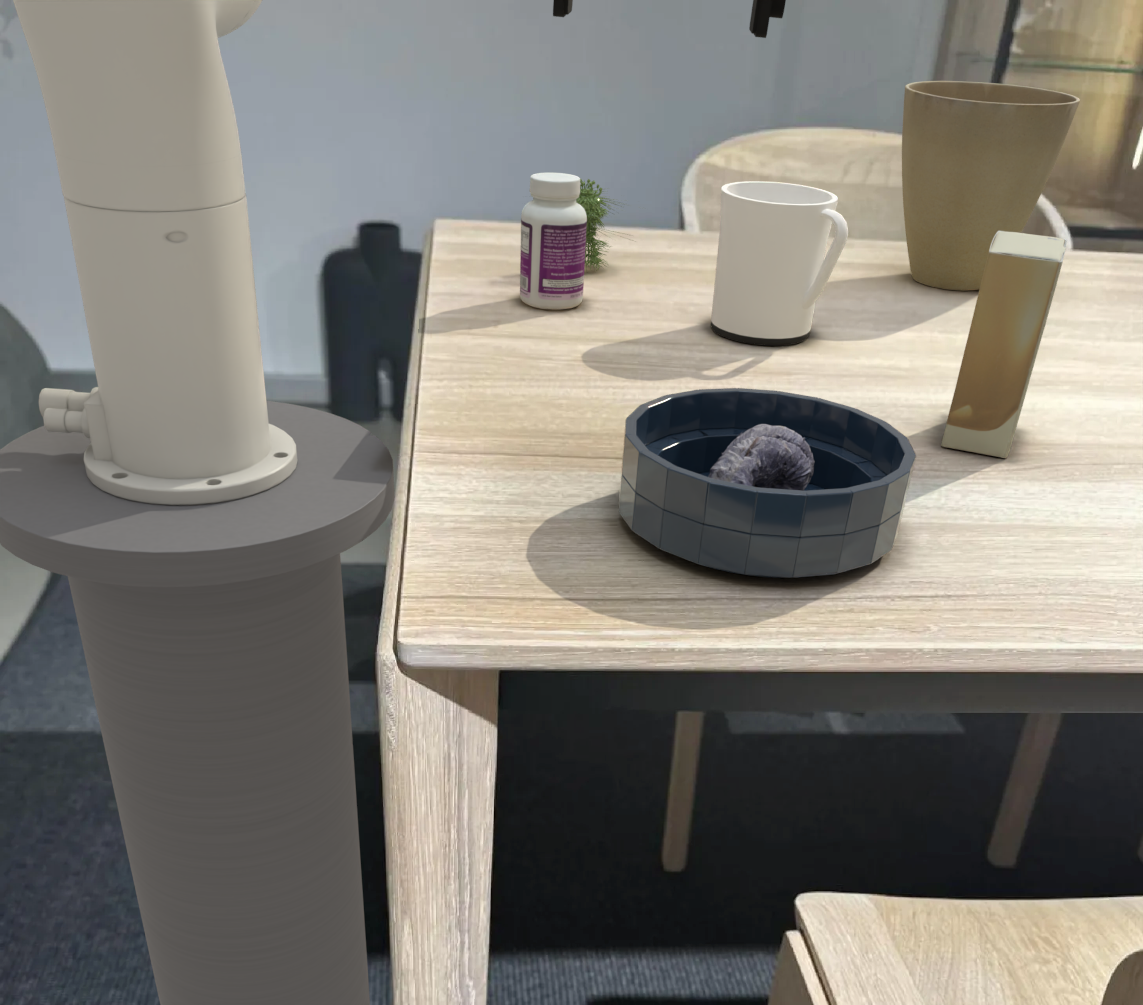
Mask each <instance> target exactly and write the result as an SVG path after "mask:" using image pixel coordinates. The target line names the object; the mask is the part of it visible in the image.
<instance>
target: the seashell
mask: <svg viewBox="0 0 1143 1005" xmlns="http://www.w3.org/2000/svg"><path fill="white" fill-rule="evenodd" d="M813 471H814V459H813V454H812V453H811V450H810V447H809V445H808V443H807V442H806V441H805V438H802V436H801V435H799V434H798V433H796V432H795V431H793V430H791V429H789V428H787V427H784V426H771V425H768V424H760V425H756V426H754V427H753V428H751V429H748V430H746V431H745V432H744V433H743V434H742V432H741V433H740V434H739V435H738V436H737V437H736V439H735V440H733V441H732V442H731V444H730V445H729V446H728V447H727V449H726V450H725V451H724V452H723V453H722V456H721V457H720V458H719V459H718V461H717V462H716V463H715V464H714V465H713V467H712V468H711V469H710V474H709V476H708V477H710V478H712V479H717V480H722V481H727V482H732V483H738V484H743V485H748V486H753V487H758V488H773V489H787V490H801V491H804V489H805V488H806V486H807V485H808V483H809V482H810V480H811V477H812V476H813Z"/></svg>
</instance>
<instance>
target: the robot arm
mask: <svg viewBox="0 0 1143 1005" xmlns="http://www.w3.org/2000/svg"><path fill="white" fill-rule="evenodd" d="M12 2H13V4H14V8H15V10H16V15H17V17H18V20H19V23H20V26H21V29H22V32H23V34H24V38H25V41H26V43H27V47H28V50H29V52H30V56H31V59H32V63H33V66H34V69H35V73H36V75H37V79H38V83H39V84H38V85H39V88H40V91H41V96H42V99H43V103H44V107H45V108H44V109H45V112H46V116H47V120H48V125H49V129H50V135H51V140H52V145H53V150H54V154H55V161H56V166H57V170H58V177H59V182H60V187H61V193H62V196H63V200H64V207H65V212H66V218H67V222H68V228H69V233H70V239H71V246H72V250H73V255H74V262H75V266H76V272H77V278H78V284H79V289H80V295H81V300H82V305H83V312H84V316H85V321H86V327H87V333H88V339H89V344H90V349H91V355H92V360H93V361H92V362H93V366H94V367H93V368H94V372H95V378H96V382H97V386H94V387H93V388H91V390H90V392H85V391H82V392H81V391H75V390H74V389H66V388H65V389H64V388H51V387H45V388H42V389H41V390H40V392H39V395H38V409H39V413H40V415H41V417H42V419H43V426H45V429H46V430H47V431H48V432H62V433H70V432H78V433H84V435H85V437H87V438H91V443H90V444H89V446H88V447H87V449H86V451H85V452H84V464H85V468H86V473H87V477H88V478H89V479H90V481H91V482H92V483H93V484H94V485H96V486H97V487H98V488H100V489H101V490H103V491H105V492H107V493H109V494H112V495H114V496H116V497H120V498H123V499H127V500H131V501H135V502H142V503H148V504H158V505H202V504H214V503H220V502H226V501H232V500H237V499H241V498H245V497H249V496H252V495H255V494H258V493H261V492H264V491H266V490H268V489H270V488H272V487H274V486H276V485H278V484H280V483H281V482H283V481H284V480H285V479H287V478H288V477H289V476H290V475H291V474H292V472H293V471H294V470H295V468H296V465H297V461H298V460H297V451H296V444H295V442H294V440H293V439H292V437H290V436H289V435H288V434H287V433H286V432H285V431H283V430H281V429H280V428H278V427H276V426H274V425H271V424H269V423H268V413H267V403H266V400H267V393H266V384H265V372H264V364H263V363H264V362H263V354H262V343H261V342H262V341H261V332H260V324H259V322H260V321H259V312H258V302H257V301H258V300H257V293H256V292H257V291H256V290H257V289H256V282H255V272H254V270H255V269H254V262H253V261H254V260H253V253H252V252H253V251H252V242H251V241H252V239H251V230H250V229H251V228H250V219H249V210H248V200H247V193H246V184H245V174H244V173H245V172H244V166H243V156H242V149H241V141H240V134H239V128H238V127H239V126H238V122H237V116H236V112H235V107H234V102H233V98H232V93H231V88H230V86H229V81H228V77H227V74H226V73H227V72H226V69H225V65H224V61H223V57H222V54H221V48H220V44H219V38H222V37H224V36H227V35H229V34H231V33H233V32H234V31H236V30H238V29H239V28H240V27H242V26H244V25H245V24H246V23H247V22H248V21H249V20H250V19H251V18H252V17H253V16H254V14H255V13H256V12H257V10H258V9H259V7H260V5H262V2H263V0H12ZM573 2H574V0H553V4H552V17H555V18H557V17H558V18H565V17H566V16H568V15H569V14H570V13H571V12H572V11H573ZM786 2H787V0H752V6H751V13H750V19H749V30H748V31H749V32H750V33H751V34H753V35H754V37H755V38H761V39H766V38H767V35H768V30H769V24H770V19H771V18H773V19H774V18H775V19H783V18H784V13H785V8H786Z"/></svg>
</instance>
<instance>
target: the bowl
mask: <svg viewBox="0 0 1143 1005" xmlns="http://www.w3.org/2000/svg"><path fill="white" fill-rule="evenodd" d="M760 424H768V425H771V426H784V427H787V428H789V429H791V430H793V431H795V432H796V433H798V434H799V435H801V436H802V438H805V441H806V442H807V443H808V445H809V447H810V450H811V453H812V454H813V459H814V471H813V476H812V477H811V480H810V482H809V483H808V485H807V486H806V488H805V489H804V491H801V490H787V489H773V488H758V487H753V486H748V485H743V484H738V483H732V482H727V481H722V480H717V479H712V478H710V477H708V476H709V474H710V469H711V468H712V467H713V465H714V464H715V463H716V462H717V461H718V459H719V458H720V457H721V456H722V453H723V452H724V451H725V450H726V449H727V447H728V446H729V445H730V444H731V442H732V441H733V440H735V439H736V437H737V436H738V435H739V434H740V433H741V432H742V434H743V433H744V432H745V431H746V430H748V429H751V428H753V427H754V426H756V425H760ZM916 459H917V454H916V452H915V450H914V448H913V446H912V444H911V442H910V440H909V438H908V437H907V436H906V435H904V433H902V432H900V431H899V430H898V429H896V428H895V427H894V426H892V425H891V424H890V423H889V422H887V421H886V420H883V419H881V418H878V417H876V416H874V415H872V414H869V413H868V412H865V411H863V410H861V409H858V408H856V407H852V406H848V405H846V404H842V403H838V402H836V401H831V400H827V399H824V398H820V397H816V396H811V395H805V394H800V393H799V394H798V393H795V392H794V393H793V392H788V391H781V390H774V389H773V390H771V389H760V388H759V389H757V388H744V387H743V388H742V387H726V388H725V387H724V388H701V389H700V388H699V389H693V390H688V391H687V390H686V391H680V392H675V393H670V394H665V395H662V396H659V397H657V398H654V399H652V400H649V401H647V402H644V403H642V404H640V405H638V406H637V407H636V408H635V409H634V410H633V411H632V412H631V413H630V414H628V416H627V417H626V418H625V422H624V434H623V446H622V459H621V471H620V483H619V494H618V496H619V498H618V513H619V515H620V516H621V517H622V519H623V520H624V522H625V523H626V525H627V526H628V528H629V529H630V530H631V531H632V532H633V533H635V534H636V535H637V536H639V537H641V538H642V539H643V540H645V541H647V543H650V544H651V545H652V546H654V547H655V548H657V549H659V550H661V551H663V552H666V553H669V554H670V555H673V556H676V557H678V558H681V559H683V560H686V561H688V562H691V563H693V564H696V565H699V566H702V567H706V568H709V569H713V570H716V571H720V572H725V573H730V574H736V575H743V576H748V577H759V578H775V579H795V578H808V577H809V578H810V577H816V576H817V577H819V576H831V575H836V574H837V575H838V574H841V573H845V572H848V571H851V570H855V569H859V568H861V567H866V566H869V565H872V564H874V563H875V562H876V561H878V560H879V559H881V558H882V557H884V556H885V555H886V554H888V553H890V552H891V551H892V550H893V548H894V545H895V542H896V539H897V538H898V534H899V531H900V528H901V523H902V518H903V514H904V510H905V506H906V501H907V496H908V493H909V488H910V484H911V480H912V477H913V476H912V475H913V471H914V467H915V463H916Z"/></svg>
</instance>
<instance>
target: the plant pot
mask: <svg viewBox="0 0 1143 1005" xmlns="http://www.w3.org/2000/svg"><path fill="white" fill-rule="evenodd" d="M1080 102H1081V99H1080V98H1079V97H1078V96H1076V95H1073V94H1069V93H1066V92H1062V91H1057V90H1053V89H1052V90H1051V89H1046V88H1041V87H1040V88H1039V87H1033V86H1026V85H1025V86H1024V85H1017V84H1007V83H994V82H981V81H980V82H978V81H965V80H964V81H963V80H962V81H961V80H959V81H958V80H926V81H924V80H923V81H915V82H910V83H907V84H906V85H905V86H904V95H903V112H902V113H903V114H902V133H901V134H902V135H901V183H902V184H901V185H902V186H901V187H902V188H901V189H902V208H903V220H904V231H905V237H906V238H905V239H906V240H905V241H906V249H907V256H908V262H909V270H910V274H911V278H912V279H913V280H914V281H915V282H917V283H920V284H921V285H924V286H927V287H931V288H937V289H941V290H950V291H979V290H980V285H981V281H982V277H983V273H984V269H985V265H986V261H987V257H988V253H989V249H990V246H991V242H992V240H993V238H994V236H995V234H996V233H997V232H998V231H1005V232H1018V233H1023V231H1024V229H1025V227H1026V225H1027V223H1028V222H1029V219H1030V217H1031V215H1032V213H1033V212H1034V210H1035V207H1036V205H1037V203H1038V202H1039V199H1040V198H1041V195H1042V193H1043V191H1044V189H1045V187H1046V185H1047V182H1048V180H1049V179H1050V176H1051V174H1052V171H1053V170H1054V167H1055V165H1056V164H1057V161H1058V157H1059V156H1060V153H1061V151H1062V148H1063V145H1064V143H1065V141H1066V138H1067V135H1068V133H1069V130H1070V128H1071V126H1072V122H1073V120H1074V117H1075V115H1076V112H1077V110H1078V107H1079V104H1080Z"/></svg>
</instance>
